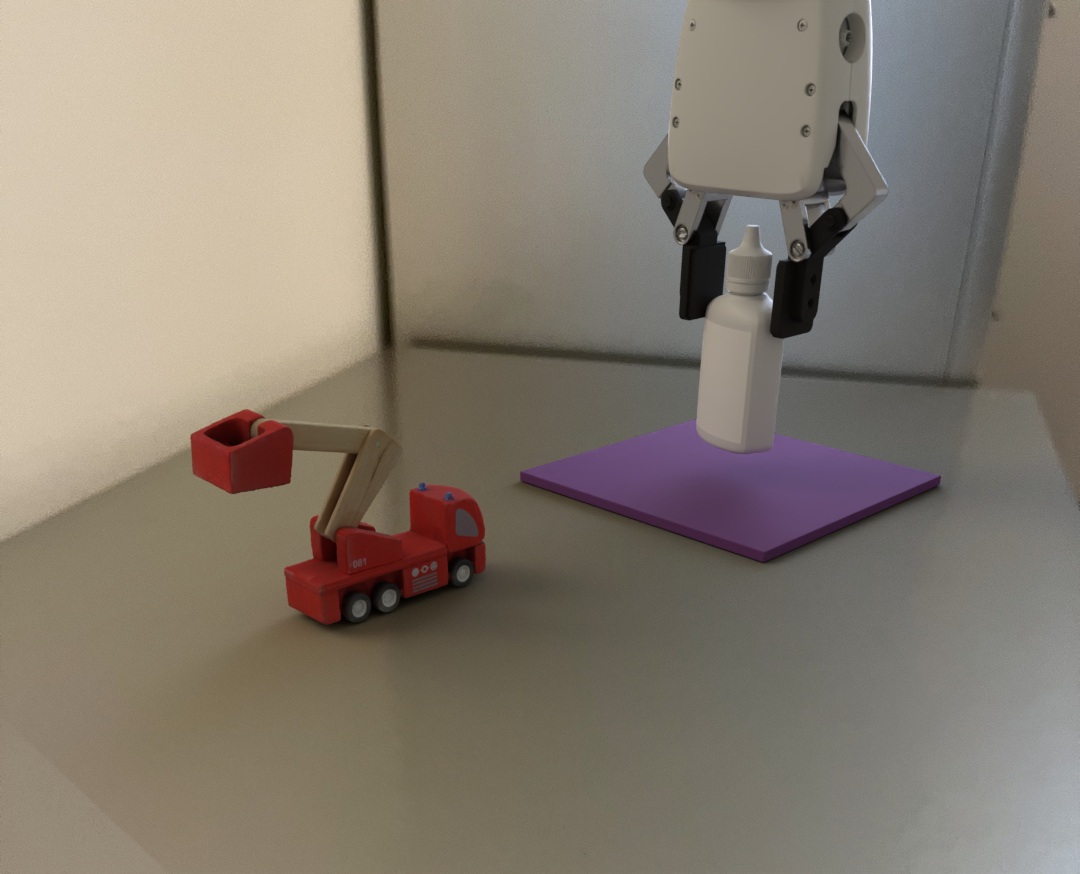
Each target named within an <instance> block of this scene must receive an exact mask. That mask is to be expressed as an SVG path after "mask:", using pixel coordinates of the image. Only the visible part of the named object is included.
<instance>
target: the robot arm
mask: <svg viewBox="0 0 1080 874" xmlns="http://www.w3.org/2000/svg"><path fill="white" fill-rule="evenodd" d="M872 16H873V15H872V1H871V0H687V2H686V5H685V12H684V16H683V20H682V25H681V32H680V36H679V42H678V47H677V53H676V61H675V66H674V75H673V81H672V82H673V83H672V92H671V99H670V109H669V110H670V111H669V120H668V121H669V122H668V132H667V134H666V135H665V137H664V138H662V139H663V140H661V142H660V144H659V145H658V146H657V147H656V149H655V150H654V152H653V153H652V154H651V156H650V157H649V158H648V160H647V162H646V163H645V164H644V167H643V170H642V173H643V177H644V178H645V180H646V182H647V184H648V185H649V186H650V188H651V190H652V191H653V193H654V194H655V195H656V197H657V198H658V199H660V206H661V208H662V210H663V212H664V214H665V215H666V217H667V219H668V220H669V222H670V223H671V226H672V227H673V231H672V235H673V236H672V237H673V240H674V241H675V243H676V244H678V245H680V246H682V247H681V248H682V249H681V250H682V251H681V262H680V263H681V264H680V281H679V306H678V307H679V308H678V317H679V319H680V320H684V321H689V322H690V321H694V320H699V319H703V318H704V319H705V313H706V309H707V306H708V304H709V303H710V302H711V301H712V300H713V299H714V298H716V297H718V296H720V295H724V284H725V274H726V273H725V271H726V262H727V261H726V259H727V246H726V244H727V243H726V241H724V240H723V241H722V240H718V237H719V235H720V232H721V230H722V227H723V224H724V221H725V218H726V216H727V213H728V211H729V208H730V205H731V202H732V199H733V197H734V196H735V197H742V198H743V197H744V198H753V199H762V200H772V201H778V203H779V208H780V215H781V222H782V227H783V233H784V239H785V243H786V244H785V245H786V251H787V258H785V259H779V260H778V262H777V265H776V268H775V277H774V285H773V286H774V287H773V296H772V300H773V305H772V315H771V325H770V333H771V334H772V336H773V337H775V338H780V339H784V340H785V339H788V338H791V337H796V336H800V335H804V334H808V333H810V332H811V331H812V329H813V326H814V320H815V318H816V317H817V314H818V310H819V304H820V303H819V302H820V295H821V294H820V293H821V286H822V278H823V269H824V262H825V258H828V257H830V256H832V255H833V254H834V253H835V250H836V248H837V246H838V245H839V244H840V243H841V242H842V241H843V240H844V239H845V238H846V237H847V236H848V235H849V234H850V233H851V232H853V230H855V228H856V227H857V226H858V223H859V222H860V221H862V220H864V219H865V218H866V217H867V216H868V215H870V214H871V213H872V212H873V211H874V210H875V209H876V208H877V207H879V206H880V205H881V204H882V203H883V202H884V201H885V200H886V199H887V198H888V196H889V186H888V184H887V182H886V180H885V178H884V177H883V175H882V173H881V172H880V169H879V168H878V166H877V164H876V162H875V160H874V159H873V157H872V155H871V153H870V152H869V149H868V140H869V139H868V138H869V128H870V115H871V104H872V103H871V100H872V85H873V84H872V83H873V82H872V81H873V19H872V18H873V17H872ZM836 196H842V197H841V198H840V199H838V202H837V203H836V204H835V205H833V207H831V203H830V202H831V201H830V197H836Z"/></svg>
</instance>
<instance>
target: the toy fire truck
mask: <svg viewBox="0 0 1080 874" xmlns="http://www.w3.org/2000/svg"><path fill="white" fill-rule="evenodd" d="M189 439H190V450H191V470H192V474H193V475H194V476H195V477H197V478H199V479H201V480H203V481H205V482H207V483H209V484H211V485H213V486H214V487H216V488H218V489H220V490H222V491H224V492H226V493H227V494H230V495H237V494H240V493H248V492H254V491H259V490H264V489H273V488H274V487H276V488H277V487H281V486H285V485H290V484H291V482H292V480H291V479H292V469H293V457H294V454H293V451H304V452H319V453H321V452H323V453H339V454H341V453H342V454H344V455H343V457H342V460H341V461H340V465H338V466H339V467H338V469H337V471H336V473H335V476H334V478H333V481H332V483H331V486H330V488H329V491H328V493H327V495H326V497H325V500H324V502H323V504H322V507H321V509H320V512H319V514H316V515H313V516H312V517H311V518H310V521H309V532H310V546H311V553H312V557H313V558H310V559H307V560H304V561H301V562H298V563H294V564H291V565H287V566H285V567H284V569H283V574H284V577H285V589H286V598H287V603H288V606H289V607H290V608H292V609H294V610H296V611H298V612H300V613H302V614H303V615H305V616H307V617H310V618H311V619H313V620H315V621H317V622H318V623H321V624H323V625H327V626H328V625H331V624H333V623H334V624H335V623H337V622H339V621H341V620H342V615H343V617H344V618H345V619H346V620H347V621H349V622H352V623H361V622H364V621H365V620H366V619H367V618H368V617H369V616H370V613H371V611H372V605H373V606H374V608H375V609H376V610H377V611H379V612H382V613H389V612H390V613H391V612H392V611H394V610H395V609H396V608H397V607H398V605H399V603H400V601H401V598H403V599H409V598H411V597H414V596H417V595H418V596H419V595H420V594H425V593H427V592H429V591H433V590H437V589H438V588H442V587H445V586H447V585H448V584H449V583H451V584H452V585H453V586H455V587H459V588H460V587H465V586H467V585H468V584H469V583H470V582H471V581H472V579H473V576H474V575H479V574H482V573H483V572H484V571H485V570H486V566H487V565H486V564H487V554H486V552H487V547H486V546H487V545H486V542H484V539H485V537H486V525H485V522H484V517H483V514H482V510H481V507H480V506H479V503H478V502H477V500H476V499H475V498H474V497H473V496H472V495H471V494H469V493H468V492H467V491H465V490H463V489H461V488H459V487H456V486H450V485H442V484H426V483H425V481H424V482H419V484H418V487H415V488H411V489H409V497H408V500H409V518H410V519H409V523H410V524H409V530H407V531H403V532H399V533H395V534H392V535H391V534H387V533H382V532H378V531H377V530H376V527H375V526H374V525H371V524H369V523H367V522H364V521H362V520H363V518H364V517H365V515H366V513H367V512H368V510H369V508H370V507H371V506H372V503H373V502H374V500H375V499H376V497H377V495H378V494H379V492H380V491H381V489H382V488H383V486H384V485H385V483H386V481H387V479H388V478H389V476H390V474H391V473H392V471H393V470H394V468H395V466H396V465H397V463H398V462H399V460H400V458H401V457H402V455H403V452H404V449H403V448H404V447H403V446H402V445H401V444H400V443H399V442H397V441H396V440H395V439H394V438H393V437H392V436H391V435H389V434H388V433H387V432H386V431H384V430H383V429H381V428H379V427H372V426H371V425H370V424H368V423H364V422H363V423H360V424H359V425H352V424H351V425H350V424H339V423H327V422H313V421H302V420H301V421H300V420H289V419H288V420H287V419H275V418H274V419H273V418H266V417H265V416H264V415H263V414H260V413H258V412H256V411H253V410H252V409H248V408H244V409H242V410H240V411H236V412H234V413H233V414H230V415H228V416H226V417H223V418H222V419H219V420H217V421H215V422H212V423H210V424H209V425H206V426H205V427H202V428H200V429H198V430H196V431H195V432H192V433H191V434H190V437H189Z"/></svg>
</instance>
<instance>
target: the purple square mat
mask: <svg viewBox="0 0 1080 874" xmlns="http://www.w3.org/2000/svg"><path fill="white" fill-rule="evenodd" d="M696 419H697V418H694V419H691V420H687V421H684V422H681V423H678V424H677V423H676V424H674V425H670V426H667V427H664V428H661V429H658V430H657V429H656V430H655V431H650V432H648V433H647V432H646V433H644V434H641V435H637V436H634V437H631V438H627V439H624V440H621V441H617V442H614V443H611V444H608V445H604V446H601V447H598V448H594V449H591V450H587V451H584V452H581V453H577V454H574V455H571V456H567V457H564V458H561V459H557V460H554V461H551V462H547V463H544V464H541V465H537V466H534V467H530V468H528V469H523V470H521V471H520V472H519V480H520V482H523V483H526V484H529V485H532V486H536V487H538V488H540V489H544V490H547V491H550V492H552V493H556V494H559V495H562V496H564V497H567V498H570V499H574V500H576V501H579V502H583V503H586V504H589V505H592V506H595V507H598V508H600V509H602V510H603V509H604V510H606V511H609V512H612V513H615V514H618V515H621V516H624V517H627V518H630V519H633V520H636V521H639V522H642V523H645V524H648V525H651V526H654V527H657V528H660V529H663V530H666V531H668V532H672V533H674V534H677V535H680V536H684V537H687V538H688V539H689V538H690V539H693V540H696V541H699V542H701V543H704V544H707V545H711V546H712V547H713V546H714V547H716V548H719V549H722V550H725V551H728V552H730V553H734V554H737V555H739V556H743V557H746V558H749V559H752V560H755V561H758V562H761V563H765V562H768V561H770V560H772V559H775V558H777V557H779V556H782V555H784V554H786V553H789V552H790V551H793V550H795V549H798V548H799V547H802V546H804V545H806V544H809V543H811V542H813V541H815V540H818V539H820V538H822V537H824V536H827V535H828V534H831V533H833V532H836V531H838V530H841V529H843V528H845V527H847V526H849V525H851V524H854V523H856V522H858V521H861V520H862V519H866V518H867V517H869V516H872V515H874V514H876V513H879V512H881V511H883V510H885V509H888V508H891V507H893V506H894V505H896V504H900V503H901V502H903V501H906V500H909V499H910V498H912V497H915V496H917V495H920V494H922V493H924V492H926V491H929V490H931V489H933V488H935V487H937V486H939V485H941V479H942V475H940V474H937V473H933V472H929V471H924V470H922V469H917V468H914V467H909V466H906V465H902V464H897V463H893V462H890V461H885V460H881V459H878V458H875V457H869V456H866V455H862V454H858V453H854V452H850V451H846V450H842V449H839V448H834V447H831V446H826V445H824V444H823V445H822V444H818V443H814V442H811V441H808V440H803V439H799V438H795V437H791V436H787V435H783V434H779V433H775V432H774V441H773V446H772V448H771V449H770V450H769V451H765V452H759V453H751V454H736V453H732V452H728V451H725V450H722V449H719V448H716V447H714V446H712V445H710V444H708V443H706V442H705V441H704V440H703V439H702V438H701V437H700V436H699V435H698V433H697V429H696Z"/></svg>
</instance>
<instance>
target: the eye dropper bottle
mask: <svg viewBox="0 0 1080 874" xmlns="http://www.w3.org/2000/svg"><path fill="white" fill-rule="evenodd" d="M760 226H761V225H758V224H746V226H745V230H744V233H743V238H742V241H741V243H740V245H739V246H737V247H735V248H734V249H732V250H729V252H728V253H727V263H726V265H727V267H726V275H725V276H726V277H725V287H724V288H725V290H726V292H725V293H723V295H720V296H718V297H716V298H714V299H713V300H712V301H711V302H710V303H709V304H708V306H707V309H706V313H705V317H704V323H703V332H702V343H701V345H702V346H701V357H700V368H699V380H698V381H699V383H698V395H697V408H696V418H695V419H696V429H697V433H698V435H699V436H700V437H701V438H702V439H703V440H704V441H705V442H706V443H708V444H710V445H712V446H714V447H716V448H719V449H722V450H725V451H728V452H732V453H736V454H751V453H759V452H765V451H769V450H770V449H771V448H772V446H773V441H774V433H775V431H776V424H777V423H776V422H777V412H778V402H779V395H780V386H781V385H780V384H781V377H782V376H781V375H782V367H783V357H784V347H785V346H784V345H785V338H784V339H780V338H775V337H773V336H772V334H771V333H770V325H771V315H772V305H773V298H771V297H770V296H769V295H768V293H767V292H769V291H770V285H771V275H772V268H773V267H772V266H773V265H772V264H773V257H774V256H773V253H772V252H771V251H769V250H768V249H766V248H765V247H764V245H763V244H762V239H761V227H760Z"/></svg>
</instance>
